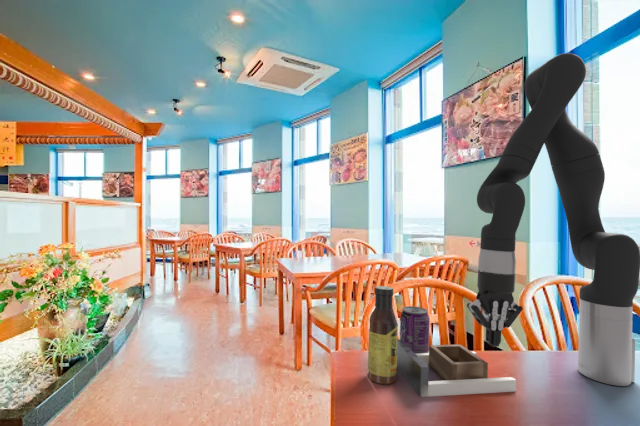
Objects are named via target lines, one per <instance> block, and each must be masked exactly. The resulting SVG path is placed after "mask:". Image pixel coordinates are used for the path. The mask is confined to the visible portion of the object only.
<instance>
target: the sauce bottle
mask: <svg viewBox="0 0 640 426" xmlns="http://www.w3.org/2000/svg"><path fill="white" fill-rule="evenodd" d="M374 295H375V301H374V302H375V304H374V308H373V311H372V312H371V314H370V317H369V328H368V348H367V349H368V355H367V356H368V357H367V358H368V359H367V370H368V373H367V374H368V375H367V376H368V378H369V380H371V381H372V382H374V383H376V384H378V385H390V384H393V383H395V381H396V380H397V373H398V369H397V344H398V339H399V338H398V336H399V335H398V332H399V331H398V330H399V325H398V320H397V318H396V315H395V311H394V308H393V296H394V288H393V287H391V286H385V285H379V286H378V285H376V286H375V287H374Z"/></svg>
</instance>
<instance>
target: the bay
mask: <svg viewBox="0 0 640 426" xmlns="http://www.w3.org/2000/svg"><path fill="white" fill-rule="evenodd" d="M470 351H471V350H470ZM471 352H472V353H474V354H475V355H477V354H478V353H477V352H476V351H474V350H473V351H471ZM477 356H478V355H477ZM429 369H430V367H429V353H414V352H413V351H412V350H411V349H410V348H409V347H408V346H407V345H406V344H405V343H403V342H402V341H401V340H400V338H398V344H397V371H398V372H399V373H400V374H401V375H402V376H403V378H404V379H405V380H406V381H407V383H409V385H410V386H411V387H412V388H413V390H414V391H415V393H417V395H418V396H419V397H420V398H423V397H424V398H427V397H442V396H443V397H445V396H459V395H476V394H494V393H496V394H497V393H511V392H517V379H516V378H514V377H513V376H507V377H506V376H505V377H489V378H488V377H487V378H484V379H464V380H445V381H443V380H430V381H429V377H430V376H429V374H430V373H429V372H430V371H429Z"/></svg>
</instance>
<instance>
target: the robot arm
mask: <svg viewBox="0 0 640 426" xmlns="http://www.w3.org/2000/svg"><path fill="white" fill-rule="evenodd" d="M586 74H587V68H586V63H585V62H584V60H583V59H582V57H580V56H579V55H577V54H574V53H572V52H565V53H560V54H558V55H556V56H553V57H551V58H550V59H549V60H547V61H546V62H544V63H543V64H541V65H540V66H539V67H537V68H535V69H534V70H532V72H530V73H529V74H528V75H527V77H526V79H525V80H524V93H525V97H526V100H527V103H528V105H529V107H530V111H529V112H528V114H527V115H526V117H524V119H523V120H522V121H521V123H520V124H519V125H518V127H517V128H516V129H515V131H514V132H513V133H512V135H511V136H510V138H509V139H508V141H507V143H506V145H505V147H504V150H503V152H502V154H501V155H500V158H499V161H498V162H497V164H496V166H495V167H494V168H493V169H492V170H491V172H490V173H489V174H488V175H487V177H486V178H485V180H484V181H483V182H482V184H481V185H480V187H479V189H478V190H477V191H478V192H477V195H476V203H477V206H478V208H479V209H480V211H482V212H484V213H486V214H491V215H492V216H491V221H490V222H489V223H487V224H484V225H483V226H482V227H481V232H480V249H479V255H478V261H477V263H478V264H477V265H478V266H477V267H478V268H477V284H476V285H477V290H478V292H477V294H476V297H475V300H474V301H472V302H467V303H466V307H467V308H468V310H469V312H470V313H471V315H472V316H473V318H474V319H475V321H476V322H477V324H479V326H480V325H481V326H483V327H484V328H485V341H486V343H487V344H488V345H489V346H490V347H492V348H493V347H495V348H496V347H499V346H500V344H501V342H502V331H503V329H505V328H507V329H508V328H510V327H511V326H512V325H513V323H514V322H515V320H516V319H517V318H518V316H519V315H520V314H521V313H522V312H523V311H524V310H523V309H524V308H523V306H521V305H519V304H517V303H516V302H515V298H514V296H513V294H514V293H515V288H516V287H515V286H516V285H515V284H516V267H517V266H516V263H517V261H516V260H517V259H516V241H517V239H516V238H517V237H516V233H517V230H518V228H519V226H520V223H521V219H522V216H523V213H524V210H525V206H526V196H525V192H524V190H523V188H522V187H521V186H520V185H519V184H518V182H520V181H522V180H524V179H526V178H527V177H529V175H530V174H531V172H532V170H533V168H534V167H535V164H536V162H537V160H538V157H539V155H540V153H541V151H542V148H543V147H544V145H545V149H546V152H547V155H548V158H549V162H550V167H551V170H552V175H553V177H554V180H555V182H556V186H557V188H558V192H559V196H560V200H561V203H562V207H563V210H564V213H565V217H566V223H567V229H568V234H569V241H570V247H571V252H572V254H573V257H574V260H575V261H576V262H577V263H578V264H579V265H580V266H582V267H583V268H585V269H588V270H592V271H593V278H592V281H591V282H590V283H589V284H585V285H582V286H581V287H580V288H579V307H578V308H579V309H578V312H579V314H578V317H579V318H578V322H579V323H578V354H577V355H578V356H577V358H578V359H577V370H578V372H579V373H580V374H581V375H583V376H585V377H586V378H588V379H591V380H594V381H596V382H600V383H602V384H605V385H611V386H617V387H618V386H619V387H628V386H630V385H632V382H635V380H636V379H635V374H636V373H635V372H636V371H635V370H636V369H635V368H636V366H635V365H636V339H635V338H634V337H633V310H634V309H633V308H634V307H633V301H634V298H635V297H636V295H637V293H638V289H639V281H640V280H639V279H640V248H639V247H640V246H639V245H638V244H637V242H636V241H635V240H634V239H633V237H630V236H629V235H626V234H623V233H618V232H606V230H605V229H604V226H603V222H602V220H601V219H602V218H601V217H600V209H599V208H600V207H599V205H600V199H601V196H602V193H603V190H604V185H605V179H606V173H605V167H604V164H603V161H602V158H601V155H600V152H599V149H598V146H597V145H596V144H595V142H594V141H593V140H592V139H591V138H590V137H589V136H588V135H587V134H586V133H584V132H583V131H582V130H581V129H580V128H578V126H577V125H576V124H574V123H573V122H572V120H571V119H570V117H569V116H568V113H567V110H566V108H567V107H568V105H569V104H570V102H571V100H572V99H573V98H574V96H575V95H576V93H577V92H578V91H579V89H580V88H581V86H582V84H583V83H584V81H585V79H586V76H587V75H586Z"/></svg>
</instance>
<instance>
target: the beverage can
mask: <svg viewBox="0 0 640 426" xmlns="http://www.w3.org/2000/svg"><path fill="white" fill-rule="evenodd" d="M399 318H400V319H399V320H400V321H399V323H400V326H399V328H400V329H399V339H400V340H401V341H402V342H403V343H405V344H406V345H407V346H408V347H409V348H410V349H411V350H412V351H413V352H414V353H429V344H430V343H429V341H430V317H429V314H428V309H426V308H423V307H419V306H410V305H409V306H403V307H402V312H401V313H400V317H399Z"/></svg>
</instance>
